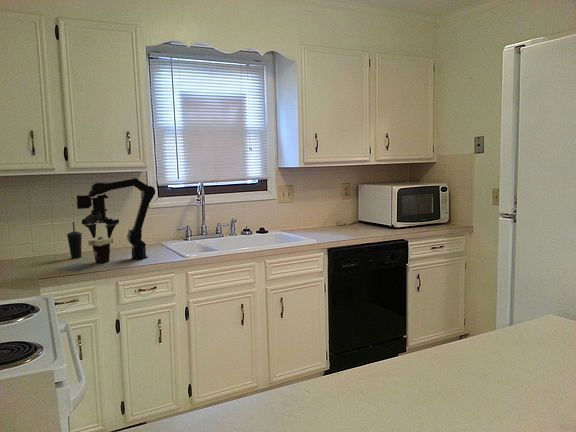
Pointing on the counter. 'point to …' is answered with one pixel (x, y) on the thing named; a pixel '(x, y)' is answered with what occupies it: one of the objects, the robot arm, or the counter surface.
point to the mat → (77, 267)
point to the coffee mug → (102, 253)
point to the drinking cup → (75, 243)
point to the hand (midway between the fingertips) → (101, 238)
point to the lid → (100, 241)
